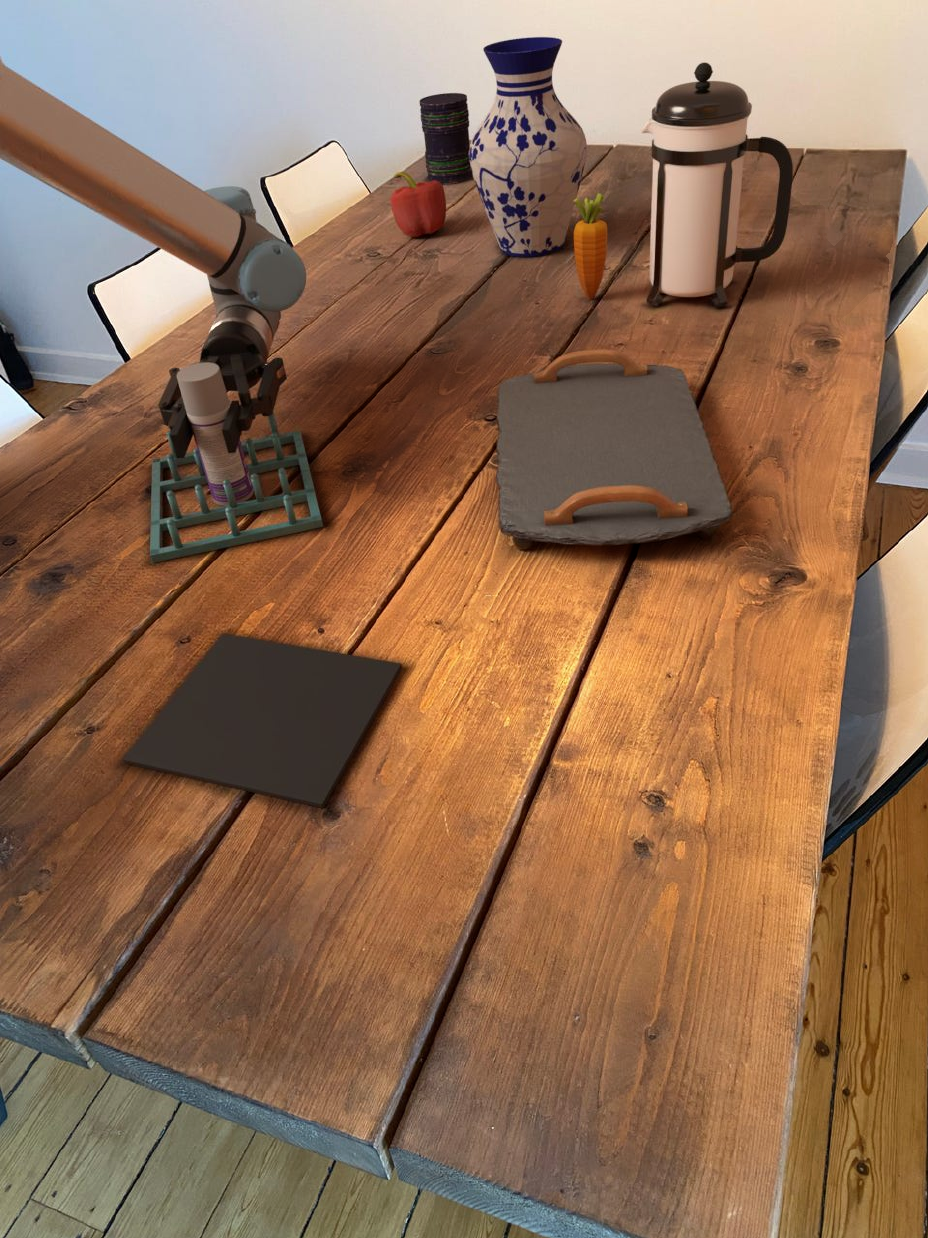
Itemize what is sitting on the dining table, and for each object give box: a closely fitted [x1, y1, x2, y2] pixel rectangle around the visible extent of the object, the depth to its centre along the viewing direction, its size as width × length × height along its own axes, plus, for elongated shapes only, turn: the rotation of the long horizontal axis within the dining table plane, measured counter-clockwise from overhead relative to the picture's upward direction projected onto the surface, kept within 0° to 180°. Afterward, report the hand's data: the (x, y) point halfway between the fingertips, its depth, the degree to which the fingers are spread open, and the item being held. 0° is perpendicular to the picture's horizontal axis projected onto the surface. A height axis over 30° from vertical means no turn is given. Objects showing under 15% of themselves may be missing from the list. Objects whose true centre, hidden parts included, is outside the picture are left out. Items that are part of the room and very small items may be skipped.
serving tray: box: [495, 348, 733, 552], centre depth 104 cm, size 39×23×6 cm, turn 179°
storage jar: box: [418, 92, 474, 185], centre depth 195 cm, size 10×10×15 cm
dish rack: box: [149, 411, 324, 564], centre depth 106 cm, size 18×21×4 cm
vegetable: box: [390, 171, 447, 238], centre depth 170 cm, size 11×10×10 cm
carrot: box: [573, 192, 608, 301], centre depth 137 cm, size 5×5×15 cm
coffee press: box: [640, 62, 794, 309], centre depth 130 cm, size 17×16×30 cm
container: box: [177, 362, 255, 507], centre depth 103 cm, size 5×5×15 cm
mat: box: [122, 632, 403, 809], centre depth 79 cm, size 18×16×1 cm
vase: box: [469, 36, 588, 258], centre depth 153 cm, size 19×19×30 cm
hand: (203, 443), depth 97 cm, fingers closed on container, 5 cm apart
